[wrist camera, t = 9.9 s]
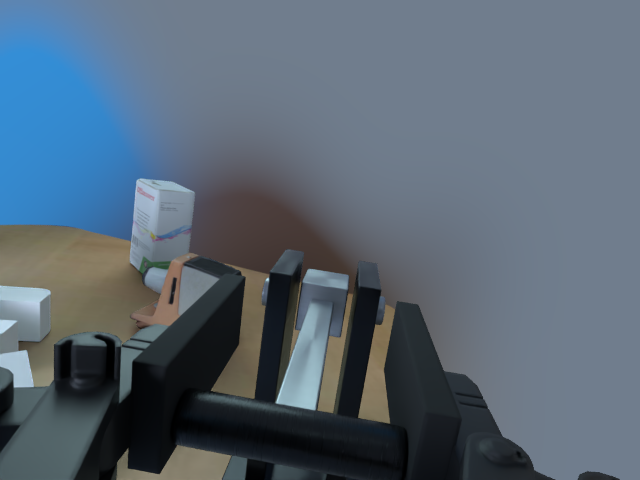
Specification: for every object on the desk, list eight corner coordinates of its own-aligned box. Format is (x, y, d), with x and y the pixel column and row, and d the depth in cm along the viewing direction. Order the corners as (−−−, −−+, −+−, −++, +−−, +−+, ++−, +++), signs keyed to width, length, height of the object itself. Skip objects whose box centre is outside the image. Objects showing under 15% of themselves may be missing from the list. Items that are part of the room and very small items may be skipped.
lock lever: (396, 521, 10) (415, 427, 9) (165, 476, 10) (174, 383, 10) (372, 323, 23) (380, 280, 22) (271, 306, 23) (277, 263, 22)
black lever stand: (364, 608, 19) (426, 320, 16) (189, 572, 19) (216, 285, 16) (362, 451, 28) (400, 255, 25) (246, 429, 29) (269, 234, 26)
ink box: (129, 262, 58) (132, 177, 56) (166, 260, 62) (171, 179, 59) (149, 283, 52) (154, 188, 49) (189, 279, 55) (197, 190, 53)
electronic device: (155, 310, 45) (160, 242, 43) (239, 332, 43) (248, 262, 41) (127, 326, 40) (131, 251, 39) (219, 352, 39) (227, 274, 37)
